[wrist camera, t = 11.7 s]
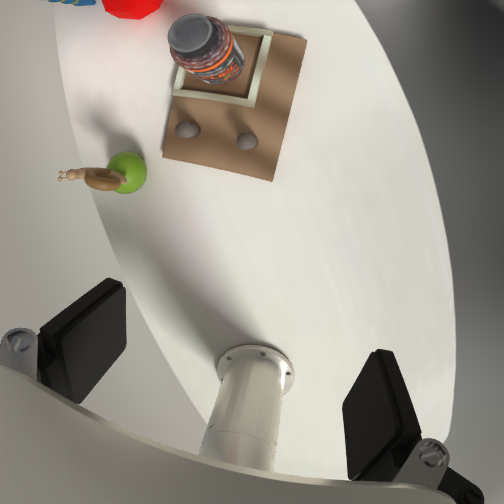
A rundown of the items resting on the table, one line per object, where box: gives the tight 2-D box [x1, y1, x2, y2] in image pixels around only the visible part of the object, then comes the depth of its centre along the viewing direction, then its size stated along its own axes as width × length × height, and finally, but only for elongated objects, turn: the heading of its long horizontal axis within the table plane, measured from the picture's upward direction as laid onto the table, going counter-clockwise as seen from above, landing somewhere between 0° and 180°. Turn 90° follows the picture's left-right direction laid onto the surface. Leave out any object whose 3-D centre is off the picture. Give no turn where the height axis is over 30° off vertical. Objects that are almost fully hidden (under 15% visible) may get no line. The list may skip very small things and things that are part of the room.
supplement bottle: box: [168, 14, 245, 85], centre depth 24 cm, size 6×6×11 cm
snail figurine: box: [58, 152, 147, 194], centre depth 31 cm, size 5×6×12 cm
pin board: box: [162, 25, 307, 182], centre depth 29 cm, size 18×14×5 cm
